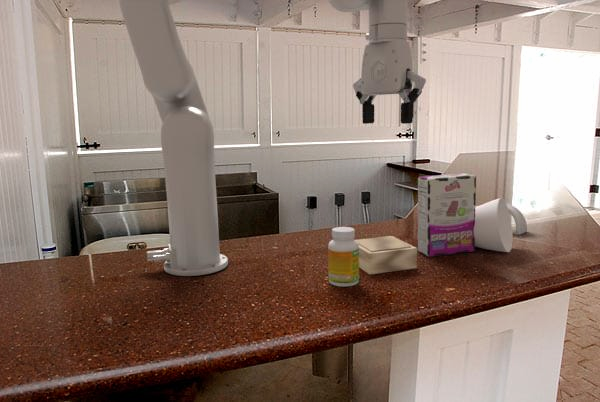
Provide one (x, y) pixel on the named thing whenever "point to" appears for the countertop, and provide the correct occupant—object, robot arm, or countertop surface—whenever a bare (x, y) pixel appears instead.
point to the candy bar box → (446, 214)
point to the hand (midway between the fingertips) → (386, 123)
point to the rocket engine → (493, 226)
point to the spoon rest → (517, 219)
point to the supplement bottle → (343, 257)
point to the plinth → (386, 255)
